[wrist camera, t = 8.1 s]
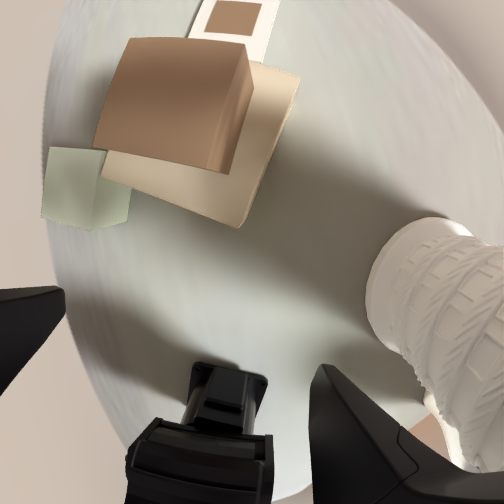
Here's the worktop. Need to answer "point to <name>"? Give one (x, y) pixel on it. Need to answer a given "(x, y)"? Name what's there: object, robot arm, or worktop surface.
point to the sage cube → (82, 190)
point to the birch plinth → (243, 165)
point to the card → (237, 23)
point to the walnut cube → (178, 101)
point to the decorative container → (447, 326)
